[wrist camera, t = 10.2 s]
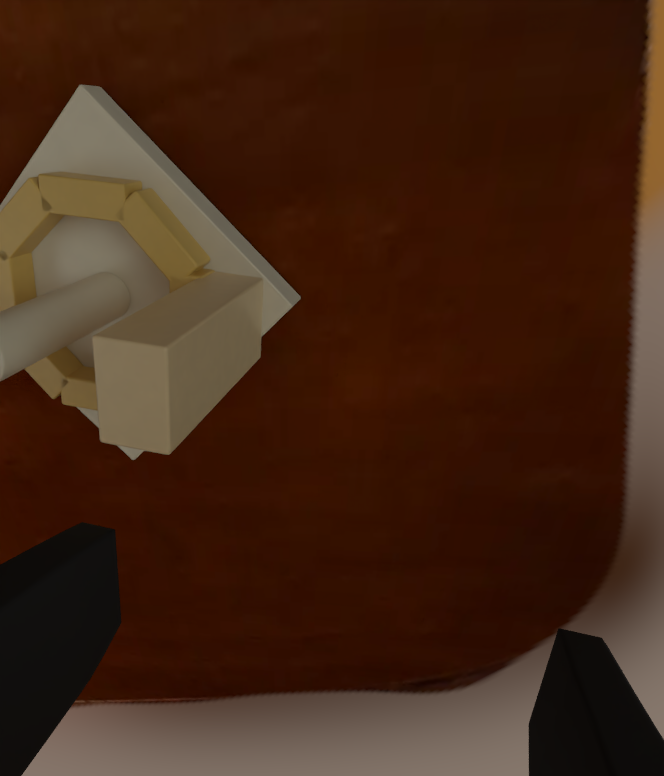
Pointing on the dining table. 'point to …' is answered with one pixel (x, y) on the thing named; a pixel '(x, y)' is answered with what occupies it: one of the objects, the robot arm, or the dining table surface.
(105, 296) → the white peg stand
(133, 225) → the tan ring with handle
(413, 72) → the dining table surface
